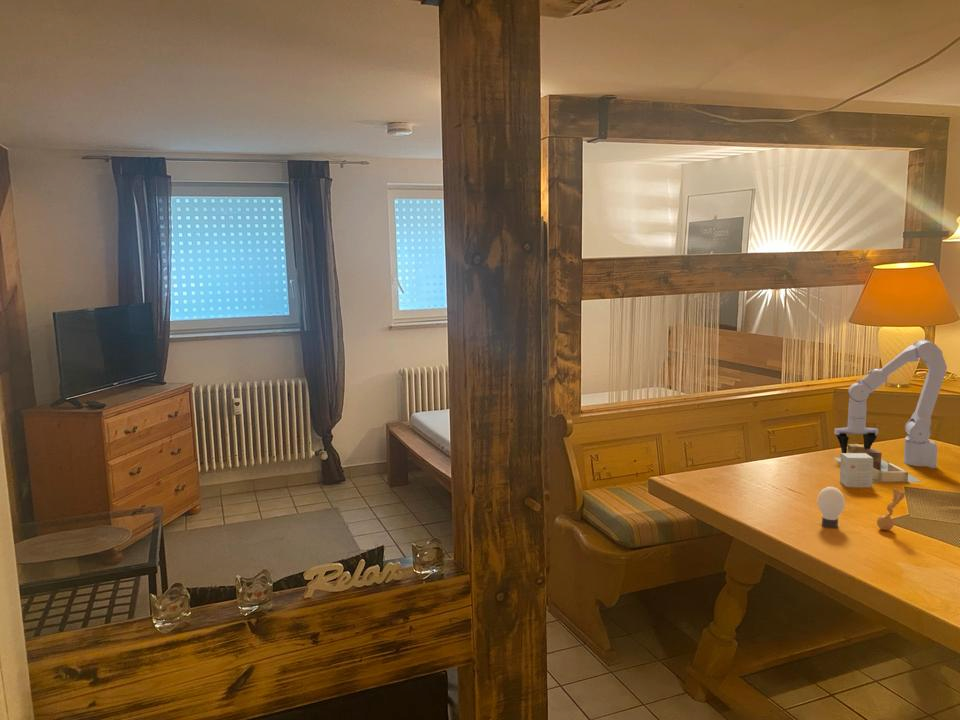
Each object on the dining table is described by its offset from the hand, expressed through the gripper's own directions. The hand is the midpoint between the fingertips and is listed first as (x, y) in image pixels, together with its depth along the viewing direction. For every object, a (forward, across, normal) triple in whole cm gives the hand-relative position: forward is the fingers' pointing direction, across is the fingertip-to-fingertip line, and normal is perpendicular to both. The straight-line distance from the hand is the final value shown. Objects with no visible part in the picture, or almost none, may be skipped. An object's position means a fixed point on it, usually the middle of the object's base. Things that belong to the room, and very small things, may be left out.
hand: (855, 453), depth 255 cm
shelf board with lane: (+3, -1, +12) cm, 13 cm away
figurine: (+3, +21, +66) cm, 69 cm away
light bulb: (+3, +35, +62) cm, 71 cm away
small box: (+3, +13, +29) cm, 32 cm away
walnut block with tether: (+2, 0, +6) cm, 6 cm away
